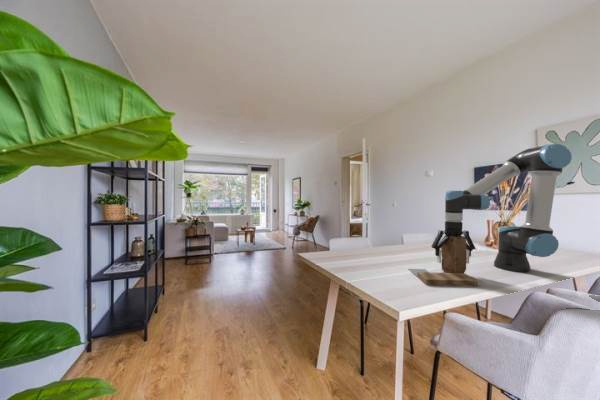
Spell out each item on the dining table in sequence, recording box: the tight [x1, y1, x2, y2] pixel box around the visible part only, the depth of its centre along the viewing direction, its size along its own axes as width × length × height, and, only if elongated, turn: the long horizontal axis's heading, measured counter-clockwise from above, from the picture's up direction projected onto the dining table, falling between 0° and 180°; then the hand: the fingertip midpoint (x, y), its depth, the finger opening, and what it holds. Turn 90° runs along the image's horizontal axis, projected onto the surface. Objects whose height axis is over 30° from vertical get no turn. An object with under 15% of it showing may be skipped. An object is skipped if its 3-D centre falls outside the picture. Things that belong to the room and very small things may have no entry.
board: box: [417, 271, 479, 287], centre depth 113 cm, size 22×10×3 cm, turn 86°
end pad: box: [407, 268, 429, 278], centre depth 125 cm, size 9×12×1 cm
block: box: [440, 234, 467, 273], centre depth 124 cm, size 11×8×20 cm
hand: (452, 262), depth 124 cm, fingers open, 13 cm apart
